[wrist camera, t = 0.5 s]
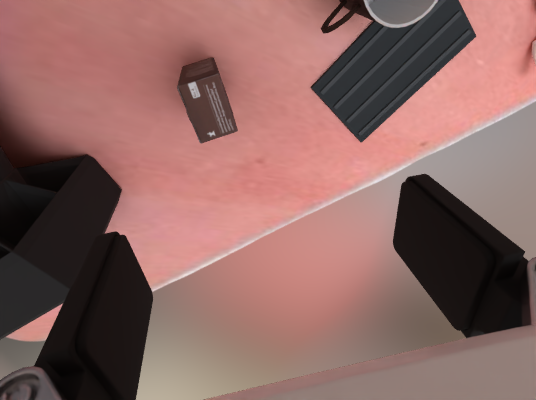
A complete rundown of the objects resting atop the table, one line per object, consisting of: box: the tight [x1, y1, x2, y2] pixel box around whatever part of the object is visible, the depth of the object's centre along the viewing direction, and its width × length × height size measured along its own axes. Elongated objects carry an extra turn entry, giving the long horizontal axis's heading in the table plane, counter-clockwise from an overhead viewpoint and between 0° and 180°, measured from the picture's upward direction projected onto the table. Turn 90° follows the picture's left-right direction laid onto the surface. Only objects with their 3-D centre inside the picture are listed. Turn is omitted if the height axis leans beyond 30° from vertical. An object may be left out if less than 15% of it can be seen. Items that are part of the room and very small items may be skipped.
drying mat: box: [311, 0, 476, 142], centre depth 42 cm, size 12×20×1 cm, turn 136°
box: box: [177, 58, 238, 143], centre depth 35 cm, size 6×4×12 cm
